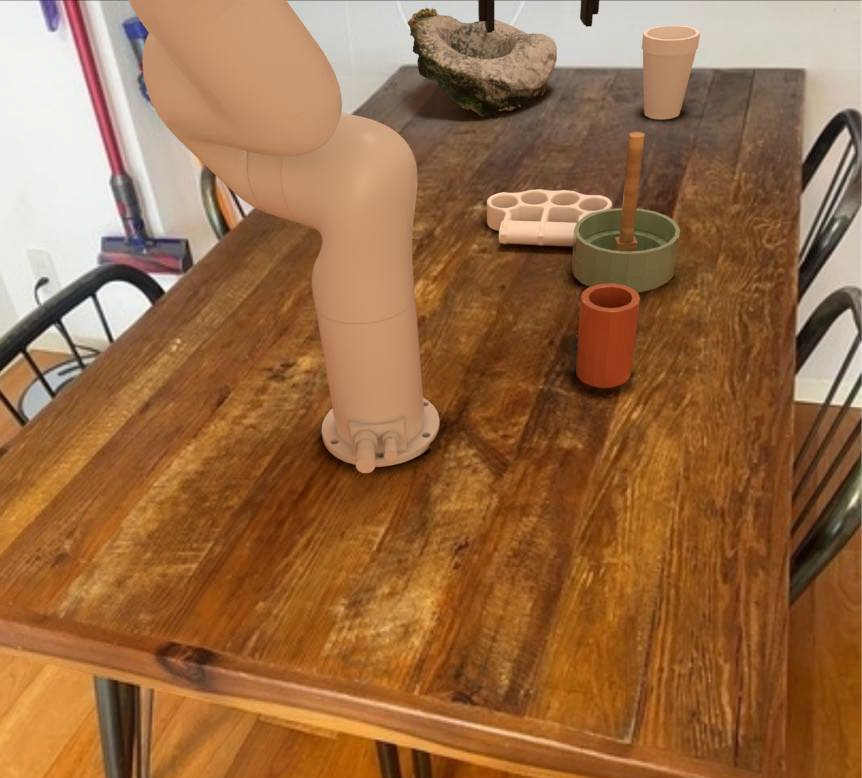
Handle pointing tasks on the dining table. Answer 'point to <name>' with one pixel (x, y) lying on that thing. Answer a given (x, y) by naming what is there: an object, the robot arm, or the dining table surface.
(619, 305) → the crock
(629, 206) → the paddle
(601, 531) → the dining table surface
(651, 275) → the bowl
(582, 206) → the white brass knuckles
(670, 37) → the foam cup
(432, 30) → the stone basin
